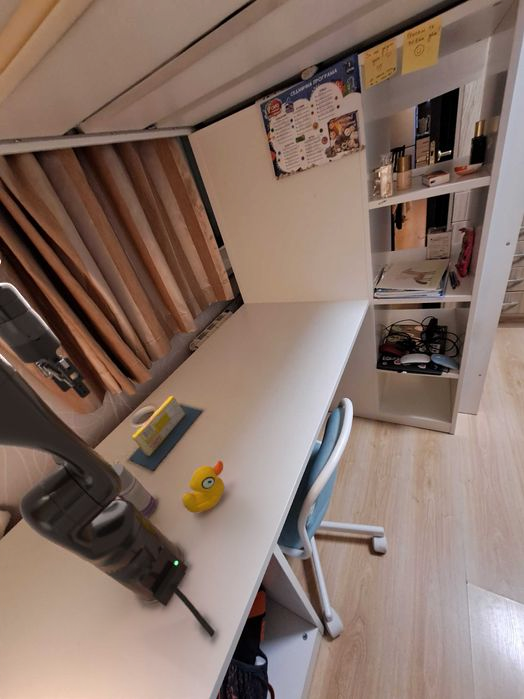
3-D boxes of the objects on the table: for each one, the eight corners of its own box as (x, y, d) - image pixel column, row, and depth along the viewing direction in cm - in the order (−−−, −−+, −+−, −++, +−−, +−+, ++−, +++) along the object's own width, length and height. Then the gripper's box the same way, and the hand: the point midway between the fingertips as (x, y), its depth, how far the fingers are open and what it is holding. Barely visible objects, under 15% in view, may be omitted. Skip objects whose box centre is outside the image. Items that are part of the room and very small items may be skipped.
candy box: (181, 413, 94) (170, 395, 90) (186, 414, 93) (175, 396, 89) (145, 454, 84) (130, 436, 79) (149, 456, 82) (135, 438, 78)
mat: (202, 411, 93) (202, 410, 92) (153, 470, 78) (153, 470, 78) (178, 405, 98) (178, 404, 98) (129, 459, 84) (128, 458, 84)
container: (135, 508, 70) (100, 473, 62) (152, 494, 72) (120, 458, 64) (141, 522, 67) (105, 487, 59) (159, 507, 69) (126, 471, 61)
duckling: (228, 474, 71) (214, 449, 66) (239, 490, 67) (224, 464, 61) (187, 506, 67) (169, 483, 62) (196, 525, 63) (177, 501, 57)
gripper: (-4, 343, 60) (48, 398, 69) (23, 348, 52) (77, 410, 61) (31, 324, 65) (76, 377, 74) (61, 326, 57) (107, 386, 66)
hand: (76, 392), depth 67 cm, fingers open, 8 cm apart
